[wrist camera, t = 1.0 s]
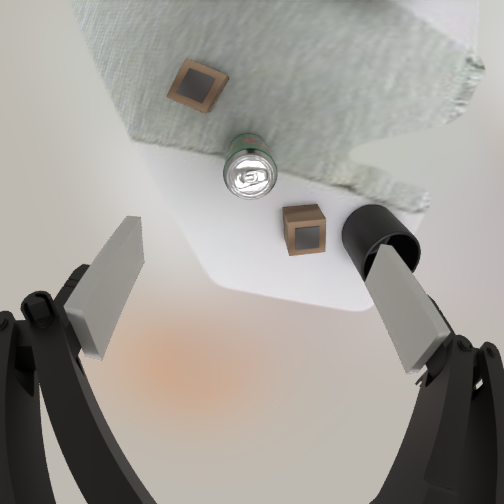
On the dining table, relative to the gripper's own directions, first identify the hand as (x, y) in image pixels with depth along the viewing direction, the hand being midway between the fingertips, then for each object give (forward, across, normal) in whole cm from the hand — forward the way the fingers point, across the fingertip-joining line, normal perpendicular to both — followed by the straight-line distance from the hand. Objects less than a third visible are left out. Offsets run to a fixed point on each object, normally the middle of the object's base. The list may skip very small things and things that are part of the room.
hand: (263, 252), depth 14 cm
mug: (+24, +20, -10) cm, 33 cm away
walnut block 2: (+24, +8, -9) cm, 27 cm away
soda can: (+24, 0, 0) cm, 24 cm away
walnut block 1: (+24, -7, +8) cm, 27 cm away
